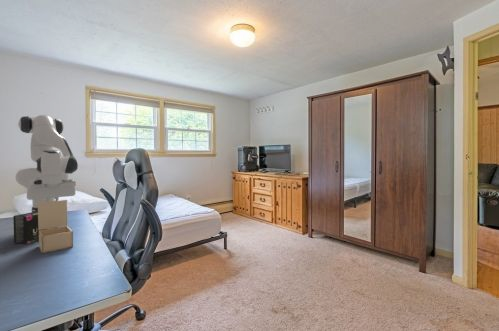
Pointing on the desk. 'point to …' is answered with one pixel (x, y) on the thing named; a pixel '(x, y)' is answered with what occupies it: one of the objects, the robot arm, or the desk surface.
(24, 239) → the tampon box
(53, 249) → the carton
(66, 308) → the desk surface
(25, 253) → the desk surface
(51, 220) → the lid
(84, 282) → the desk surface
